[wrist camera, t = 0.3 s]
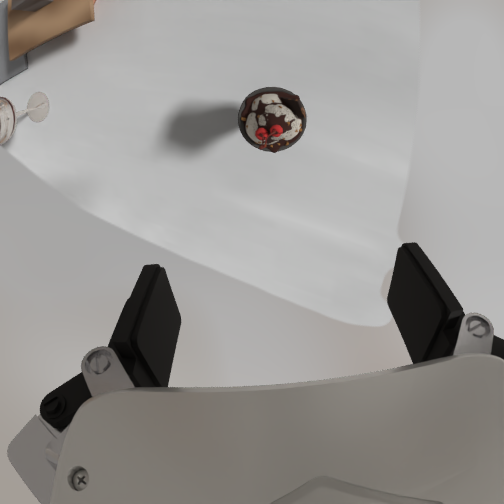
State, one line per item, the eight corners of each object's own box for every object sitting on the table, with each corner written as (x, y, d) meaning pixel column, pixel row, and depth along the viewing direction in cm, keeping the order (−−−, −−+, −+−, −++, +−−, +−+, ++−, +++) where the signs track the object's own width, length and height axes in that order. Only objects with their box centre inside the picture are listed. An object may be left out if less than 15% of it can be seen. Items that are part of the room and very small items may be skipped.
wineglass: (19, 120, 33) (-31, 142, 23) (30, 81, 30) (-23, 95, 20) (46, 133, 35) (-3, 158, 25) (59, 93, 32) (6, 108, 22)
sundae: (241, 133, 37) (235, 166, 25) (241, 84, 34) (235, 88, 21) (291, 134, 37) (313, 168, 25) (293, 85, 34) (318, 92, 21)
